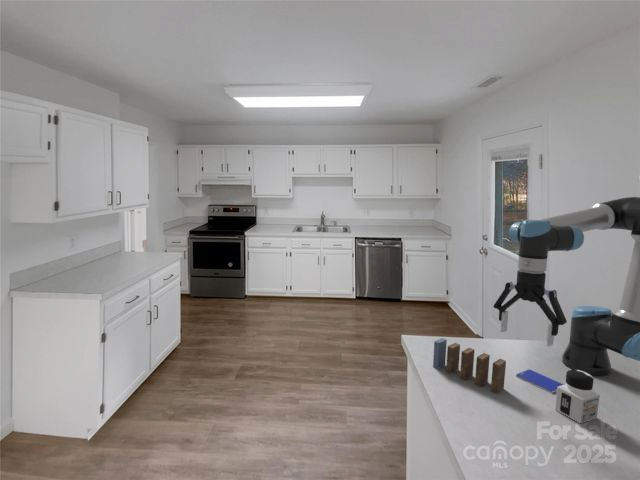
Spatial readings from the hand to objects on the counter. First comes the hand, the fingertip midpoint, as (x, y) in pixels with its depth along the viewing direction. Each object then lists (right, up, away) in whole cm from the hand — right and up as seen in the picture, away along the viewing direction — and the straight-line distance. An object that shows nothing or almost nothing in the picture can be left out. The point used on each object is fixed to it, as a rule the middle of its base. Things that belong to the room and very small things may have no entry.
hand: (525, 337), depth 115 cm
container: (+12, -22, -5) cm, 25 cm away
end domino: (-19, -17, +25) cm, 36 cm away
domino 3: (-8, -19, +13) cm, 24 cm away
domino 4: (-5, -20, +8) cm, 22 cm away
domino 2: (-12, -18, +17) cm, 28 cm away
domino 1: (-15, -18, +21) cm, 31 cm away
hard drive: (+13, -20, +14) cm, 27 cm away
